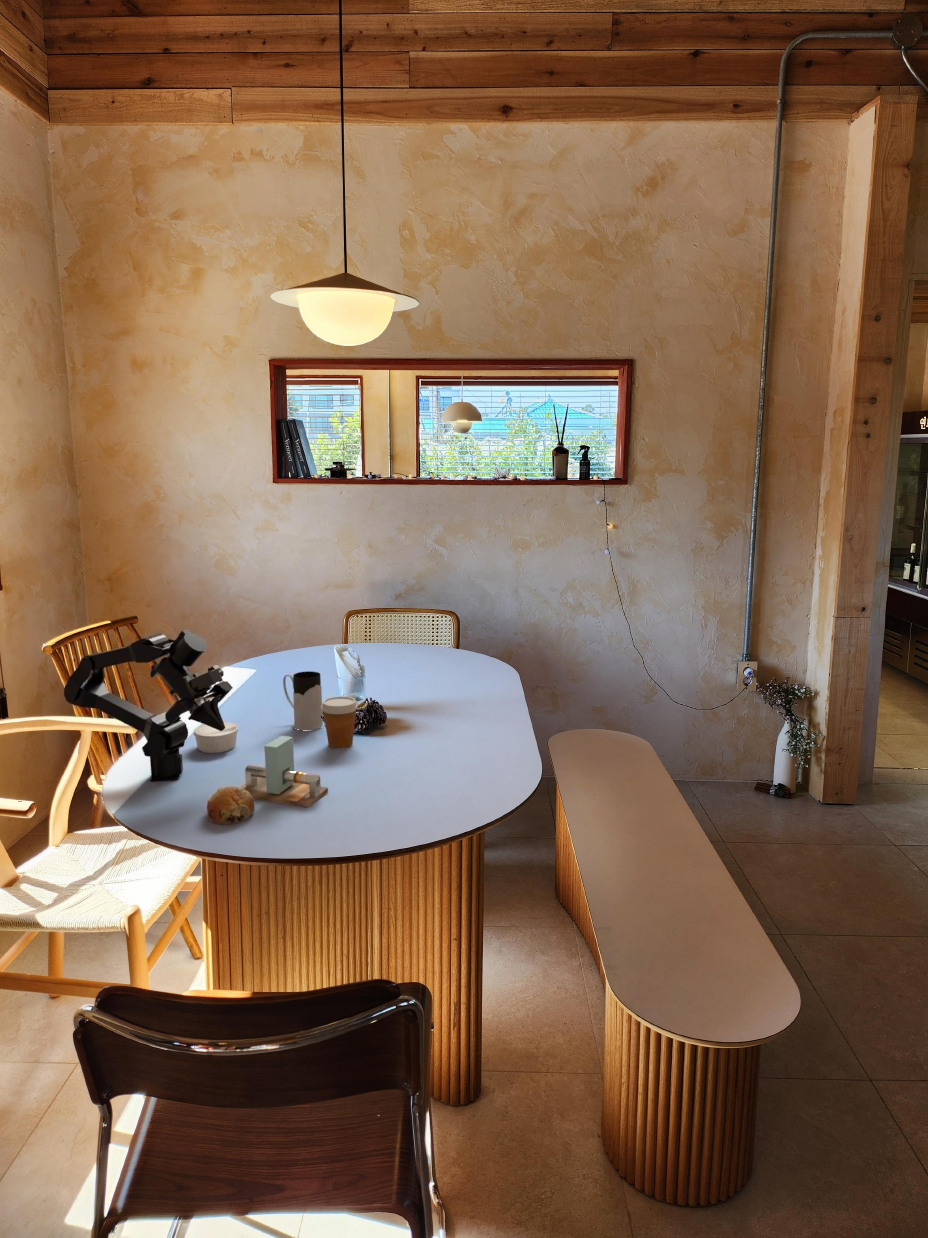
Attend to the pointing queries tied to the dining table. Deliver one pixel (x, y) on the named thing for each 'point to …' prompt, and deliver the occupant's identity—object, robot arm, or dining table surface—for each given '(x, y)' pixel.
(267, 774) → the sage green slotted block
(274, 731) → the dining table surface
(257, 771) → the grey metal pipe
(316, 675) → the black and white mug
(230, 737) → the ramekin
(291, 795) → the walnut board
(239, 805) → the bread roll
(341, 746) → the disposable coffee cup
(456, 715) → the dining table surface
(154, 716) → the robot arm
